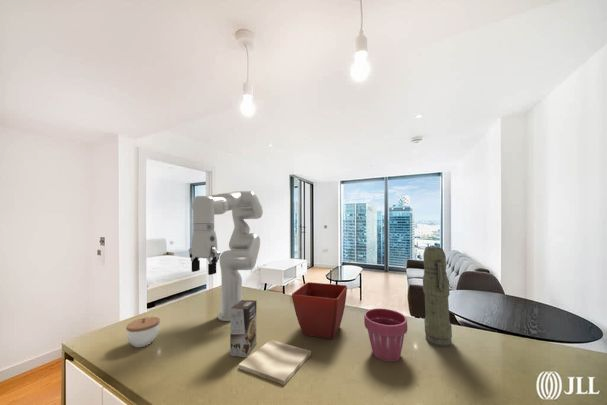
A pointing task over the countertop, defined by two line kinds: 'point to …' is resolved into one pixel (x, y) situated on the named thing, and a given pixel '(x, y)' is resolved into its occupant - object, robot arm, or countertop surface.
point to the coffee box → (243, 328)
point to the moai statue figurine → (436, 298)
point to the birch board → (275, 361)
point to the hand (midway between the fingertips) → (203, 272)
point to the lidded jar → (142, 331)
